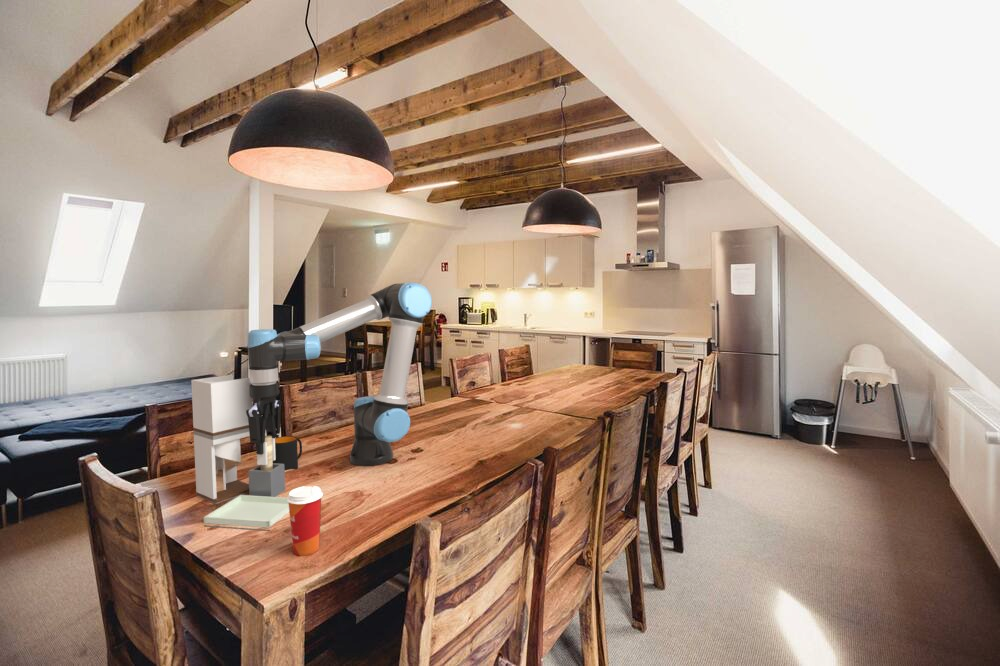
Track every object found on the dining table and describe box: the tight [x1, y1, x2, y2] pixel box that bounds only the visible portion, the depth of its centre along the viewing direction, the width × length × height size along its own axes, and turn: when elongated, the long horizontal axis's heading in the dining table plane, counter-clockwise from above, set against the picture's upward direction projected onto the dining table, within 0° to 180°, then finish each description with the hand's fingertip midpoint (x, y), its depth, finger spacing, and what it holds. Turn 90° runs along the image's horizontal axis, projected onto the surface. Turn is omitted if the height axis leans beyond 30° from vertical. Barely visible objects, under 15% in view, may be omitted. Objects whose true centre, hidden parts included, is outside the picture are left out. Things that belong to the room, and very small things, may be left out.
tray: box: [203, 494, 290, 532], centre depth 127 cm, size 18×14×2 cm
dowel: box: [261, 435, 273, 471], centre depth 139 cm, size 3×3×17 cm
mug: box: [273, 435, 303, 471], centre depth 164 cm, size 8×12×10 cm
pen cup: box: [248, 463, 286, 497], centre depth 139 cm, size 7×7×9 cm
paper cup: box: [286, 485, 324, 557], centre depth 110 cm, size 8×8×14 cm
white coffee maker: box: [190, 374, 253, 505], centre depth 139 cm, size 11×11×35 cm
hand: (266, 462), depth 139 cm, fingers closed on dowel, 3 cm apart
